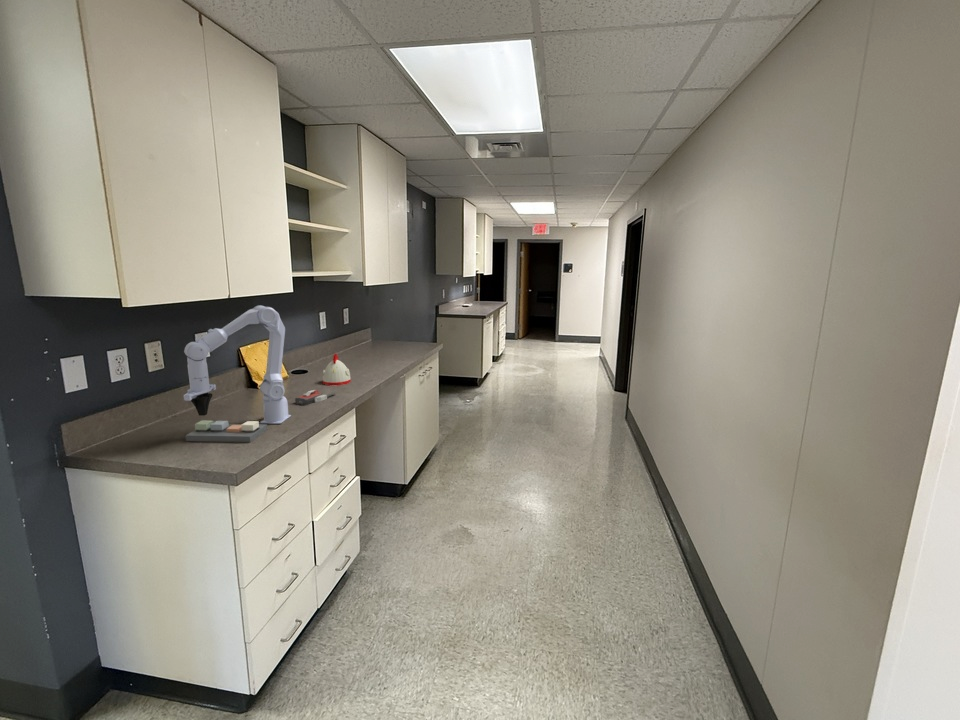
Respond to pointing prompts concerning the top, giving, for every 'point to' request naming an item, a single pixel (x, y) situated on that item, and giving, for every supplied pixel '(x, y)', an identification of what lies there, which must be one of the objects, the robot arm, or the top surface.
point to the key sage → (203, 426)
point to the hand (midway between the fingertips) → (203, 414)
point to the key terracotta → (234, 428)
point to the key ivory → (250, 426)
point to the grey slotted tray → (226, 435)
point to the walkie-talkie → (311, 397)
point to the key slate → (219, 426)
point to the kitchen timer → (336, 373)
